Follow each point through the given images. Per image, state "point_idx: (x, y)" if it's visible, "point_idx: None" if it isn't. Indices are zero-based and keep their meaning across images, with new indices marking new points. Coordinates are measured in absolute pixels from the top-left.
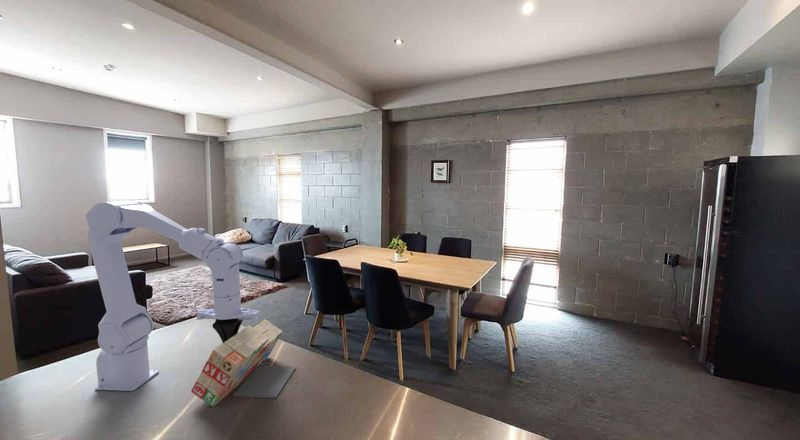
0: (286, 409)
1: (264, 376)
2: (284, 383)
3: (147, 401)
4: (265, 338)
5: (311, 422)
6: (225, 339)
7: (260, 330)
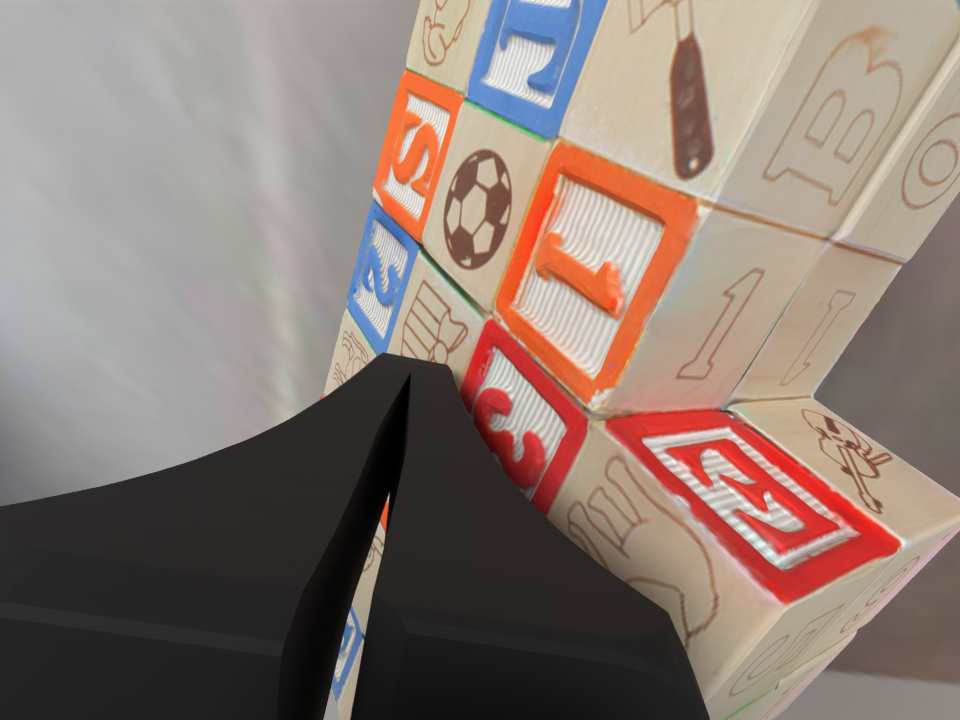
0: None
1: None
2: (823, 385)
3: (24, 416)
4: (932, 550)
5: (905, 636)
6: (363, 567)
7: (852, 134)
